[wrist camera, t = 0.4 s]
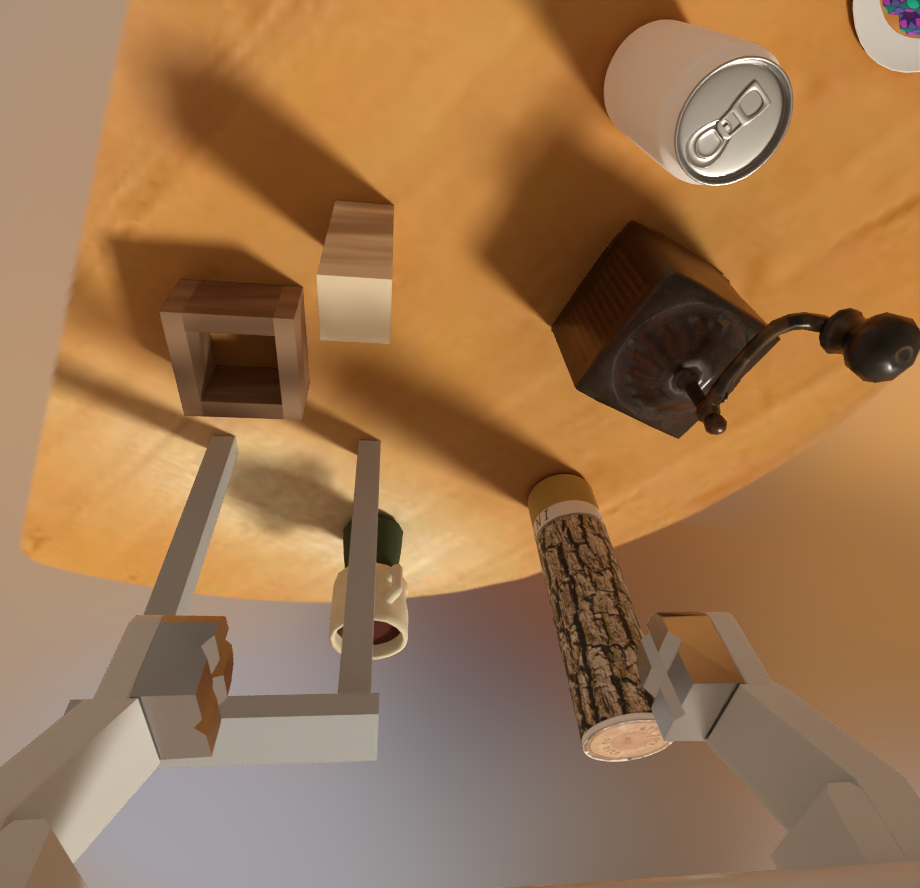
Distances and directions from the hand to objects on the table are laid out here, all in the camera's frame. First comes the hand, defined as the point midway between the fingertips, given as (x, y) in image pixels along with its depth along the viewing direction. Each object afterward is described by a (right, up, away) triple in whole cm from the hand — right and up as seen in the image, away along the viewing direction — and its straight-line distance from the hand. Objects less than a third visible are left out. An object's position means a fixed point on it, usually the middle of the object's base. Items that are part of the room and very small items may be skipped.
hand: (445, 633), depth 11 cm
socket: (-16, +12, +35) cm, 41 cm away
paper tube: (+10, -1, +50) cm, 51 cm away
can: (+12, +27, +26) cm, 40 cm away
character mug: (-9, -5, +51) cm, 52 cm away
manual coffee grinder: (+16, +17, +35) cm, 42 cm away
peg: (-7, +19, +31) cm, 37 cm away
